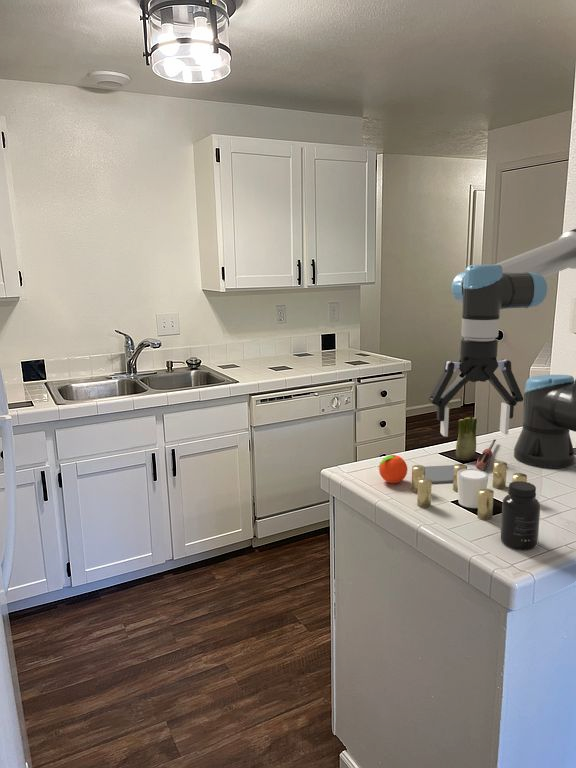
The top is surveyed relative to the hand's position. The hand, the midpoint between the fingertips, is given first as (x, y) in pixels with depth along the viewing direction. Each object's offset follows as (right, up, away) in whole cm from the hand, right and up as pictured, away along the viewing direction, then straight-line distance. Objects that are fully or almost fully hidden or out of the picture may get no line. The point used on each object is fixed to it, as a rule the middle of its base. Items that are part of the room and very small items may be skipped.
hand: (474, 433), depth 128 cm
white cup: (+1, -16, +4) cm, 17 cm away
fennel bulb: (+8, -10, +31) cm, 33 cm away
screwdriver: (+14, -10, +32) cm, 37 cm away
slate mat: (-2, -12, +20) cm, 24 cm away
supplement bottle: (+4, -20, -15) cm, 25 cm away
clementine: (-15, -14, +16) cm, 26 cm away
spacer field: (+1, -16, +4) cm, 16 cm away
